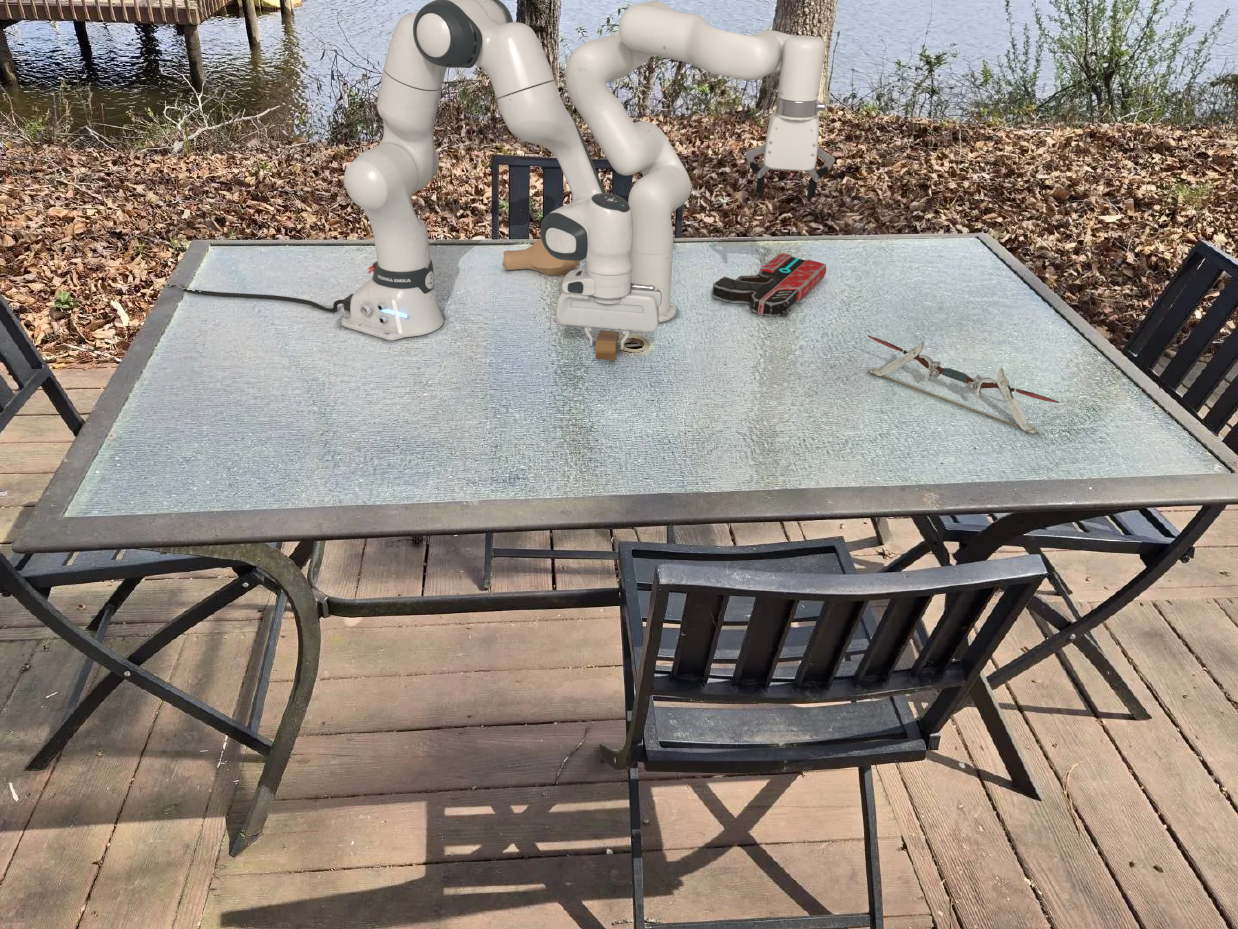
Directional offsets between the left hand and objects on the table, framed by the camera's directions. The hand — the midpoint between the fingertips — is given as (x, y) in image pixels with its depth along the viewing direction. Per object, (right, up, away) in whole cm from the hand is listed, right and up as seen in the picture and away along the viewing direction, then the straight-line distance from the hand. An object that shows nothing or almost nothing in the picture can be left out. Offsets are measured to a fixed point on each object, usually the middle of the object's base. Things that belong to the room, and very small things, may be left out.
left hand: (607, 346), depth 176 cm
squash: (-17, +26, +47) cm, 57 cm away
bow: (+67, -11, -4) cm, 68 cm away
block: (0, -1, +1) cm, 2 cm away
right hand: (+36, +30, 0) cm, 47 cm away
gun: (+40, +19, +40) cm, 60 cm away
